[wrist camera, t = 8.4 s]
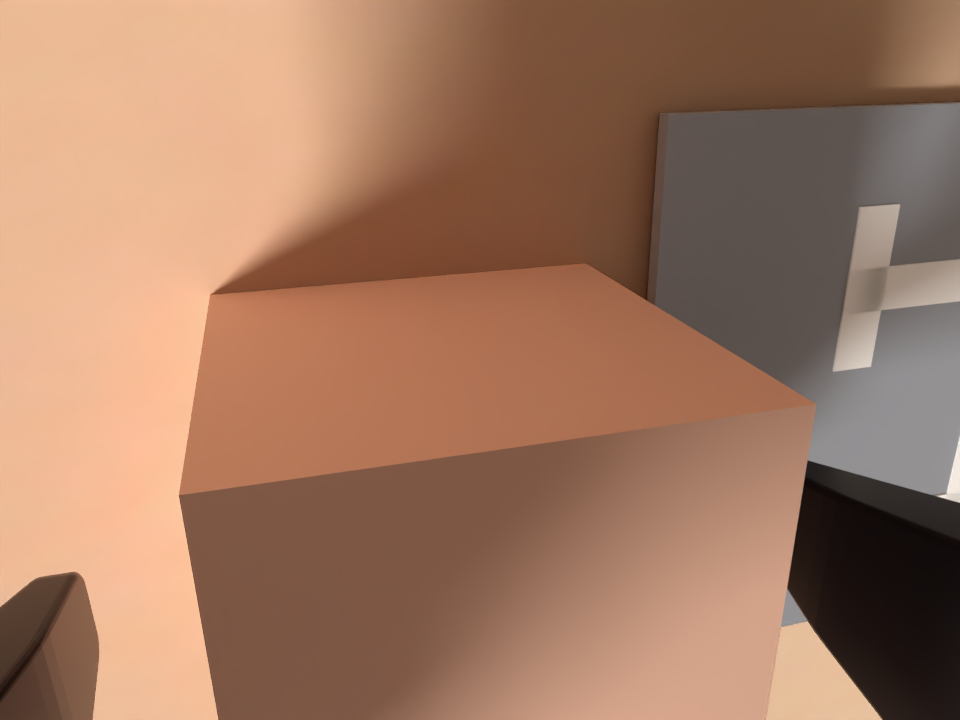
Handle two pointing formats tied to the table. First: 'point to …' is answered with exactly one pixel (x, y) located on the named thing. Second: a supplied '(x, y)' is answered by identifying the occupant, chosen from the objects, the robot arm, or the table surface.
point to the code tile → (826, 271)
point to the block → (486, 504)
